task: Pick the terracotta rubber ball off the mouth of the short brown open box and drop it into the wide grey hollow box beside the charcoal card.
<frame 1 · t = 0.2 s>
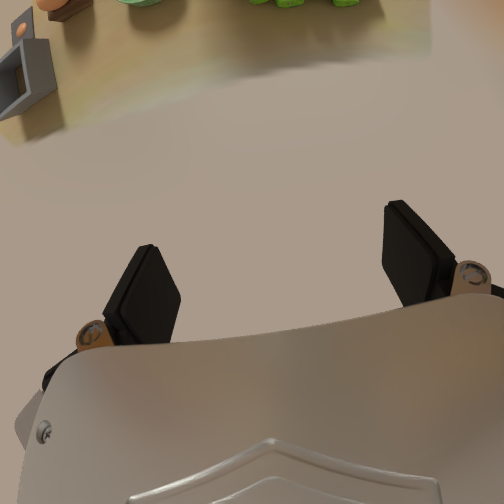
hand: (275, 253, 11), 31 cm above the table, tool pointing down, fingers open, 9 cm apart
target card: (22, 29, 22), on the table
grey hollow box: (32, 77, 28), on the table
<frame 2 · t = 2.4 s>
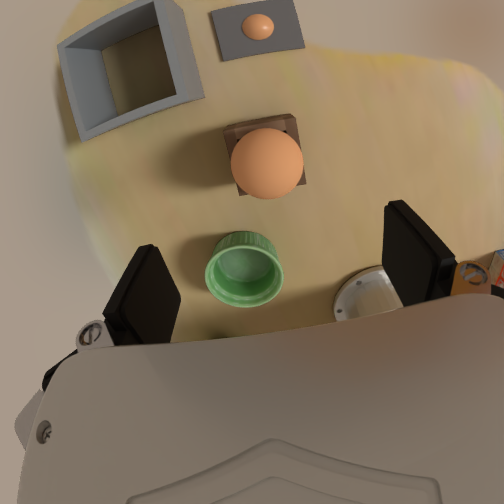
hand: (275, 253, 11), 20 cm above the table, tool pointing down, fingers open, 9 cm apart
target card: (258, 27, 20), on the table
grey hollow box: (144, 68, 22), on the table
brown open box: (265, 148, 27), on the table
ball: (267, 163, 22), point 6 cm above the table, touching brown open box
ramekin: (245, 256, 35), on the table
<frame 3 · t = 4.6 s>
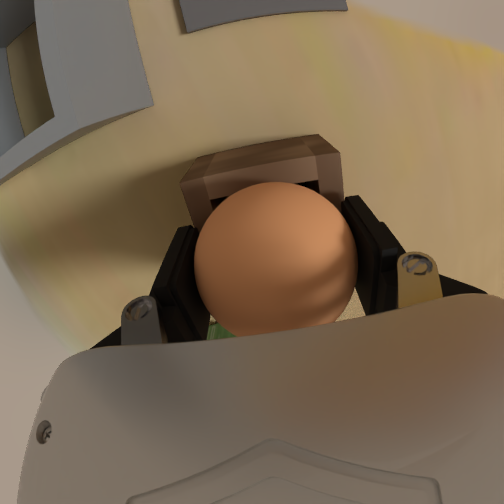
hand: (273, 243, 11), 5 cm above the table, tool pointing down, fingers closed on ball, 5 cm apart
grey hollow box: (57, 63, 10), on the table
brown open box: (269, 199, 15), on the table
ball: (276, 264, 10), point 6 cm above the table, touching gripper, brown open box
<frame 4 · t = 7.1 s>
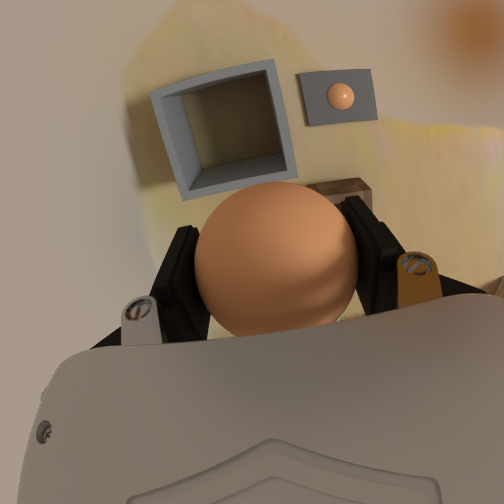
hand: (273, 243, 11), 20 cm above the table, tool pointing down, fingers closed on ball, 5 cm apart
target card: (339, 96, 25), on the table
grey hollow box: (231, 122, 27), on the table
brown open box: (336, 205, 32), on the table
ball: (276, 264, 10), point 22 cm above the table, touching gripper
when the fingers open (11 cm above the table, at t = 9.7 s): ball drops 9 cm, point 3 cm above the table.
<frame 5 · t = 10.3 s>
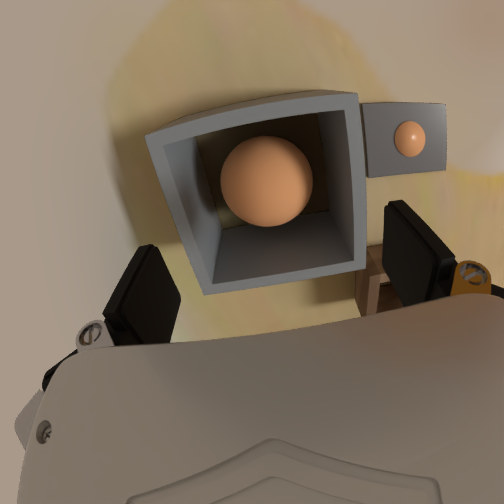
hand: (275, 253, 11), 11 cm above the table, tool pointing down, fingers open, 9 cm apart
target card: (408, 138, 18), on the table
grey hollow box: (265, 168, 20), on the table
brown open box: (384, 269, 26), on the table
ball: (266, 180, 18), point 3 cm above the table
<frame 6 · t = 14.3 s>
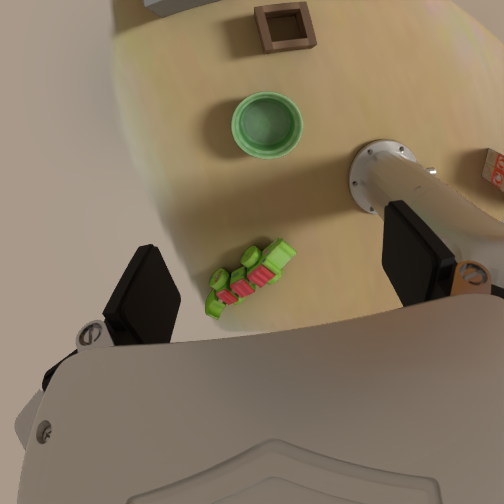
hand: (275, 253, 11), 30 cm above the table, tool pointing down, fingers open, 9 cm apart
brown open box: (282, 30, 28), on the table
toy crocodile: (246, 268, 50), on the table
ramekin: (265, 121, 36), on the table
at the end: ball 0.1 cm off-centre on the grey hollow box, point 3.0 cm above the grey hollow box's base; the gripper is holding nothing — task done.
